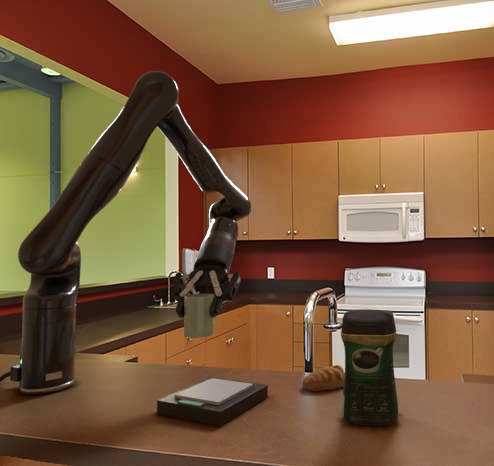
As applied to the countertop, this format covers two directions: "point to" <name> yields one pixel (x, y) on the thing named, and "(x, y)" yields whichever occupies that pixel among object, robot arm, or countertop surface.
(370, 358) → the coffee jar
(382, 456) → the countertop surface
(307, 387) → the pastry
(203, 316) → the cup
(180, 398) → the scale
